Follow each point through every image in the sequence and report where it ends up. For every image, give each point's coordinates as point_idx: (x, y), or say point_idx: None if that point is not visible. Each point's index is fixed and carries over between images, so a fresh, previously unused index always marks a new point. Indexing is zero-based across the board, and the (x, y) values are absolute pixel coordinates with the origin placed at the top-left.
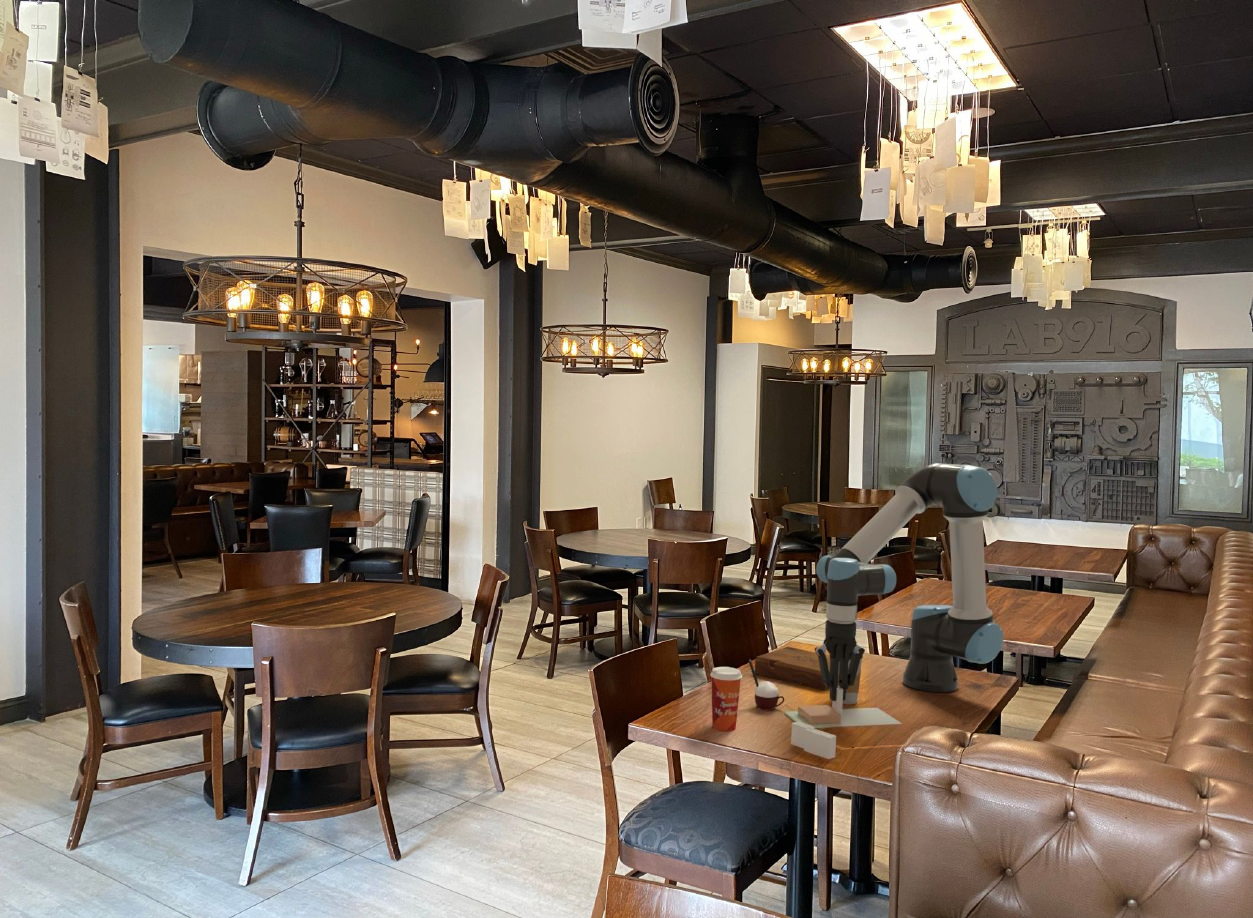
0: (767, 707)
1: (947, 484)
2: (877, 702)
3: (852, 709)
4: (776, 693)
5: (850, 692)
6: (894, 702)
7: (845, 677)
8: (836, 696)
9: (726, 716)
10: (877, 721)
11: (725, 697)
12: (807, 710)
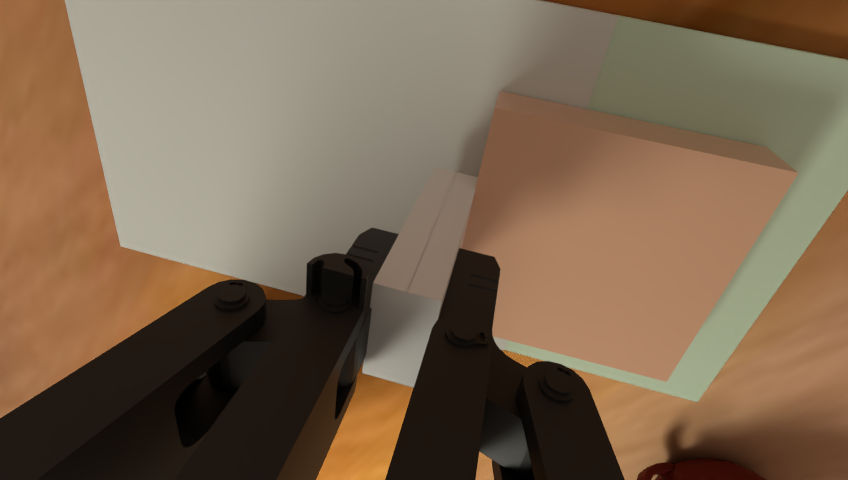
0: (752, 474)
1: None
2: (94, 316)
3: (267, 275)
4: None
5: None
6: (15, 286)
7: (280, 387)
8: (452, 268)
9: None
10: (209, 21)
11: None
12: (684, 295)
